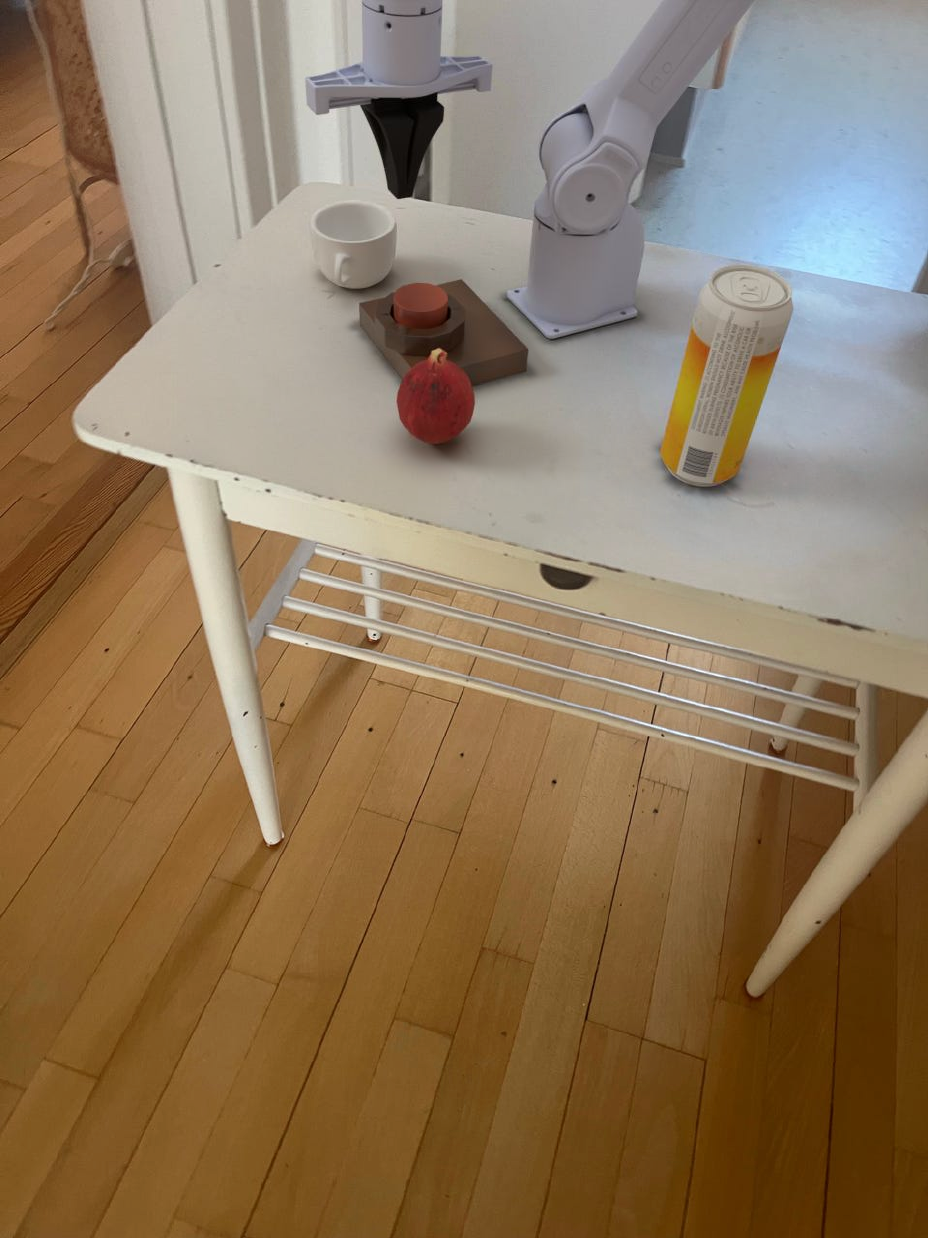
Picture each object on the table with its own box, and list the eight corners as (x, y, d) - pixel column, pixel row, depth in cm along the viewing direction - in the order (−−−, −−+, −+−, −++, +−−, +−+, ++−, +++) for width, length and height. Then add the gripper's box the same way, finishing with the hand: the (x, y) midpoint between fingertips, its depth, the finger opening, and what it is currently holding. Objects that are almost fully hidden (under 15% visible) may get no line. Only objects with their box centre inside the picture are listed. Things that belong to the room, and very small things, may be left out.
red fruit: (465, 470, 71) (470, 381, 65) (390, 460, 72) (388, 370, 66) (477, 423, 75) (483, 334, 69) (405, 413, 75) (405, 324, 69)
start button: (432, 296, 80) (433, 277, 79) (456, 323, 78) (457, 304, 76) (385, 308, 79) (384, 289, 77) (407, 335, 76) (407, 316, 75)
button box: (460, 300, 87) (462, 259, 84) (526, 371, 80) (530, 329, 77) (352, 327, 83) (350, 285, 80) (411, 403, 76) (411, 360, 73)
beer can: (739, 447, 74) (798, 269, 63) (736, 498, 71) (798, 317, 59) (662, 434, 75) (706, 255, 64) (654, 483, 71) (700, 301, 60)
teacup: (326, 250, 91) (322, 195, 87) (405, 260, 91) (404, 205, 87) (297, 305, 85) (292, 248, 81) (381, 316, 84) (380, 259, 80)
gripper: (466, -24, 72) (456, 158, 82) (285, -7, 67) (298, 185, 77) (512, 7, 68) (495, 194, 78) (322, 27, 63) (331, 224, 73)
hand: (400, 192), depth 78 cm, fingers closed
